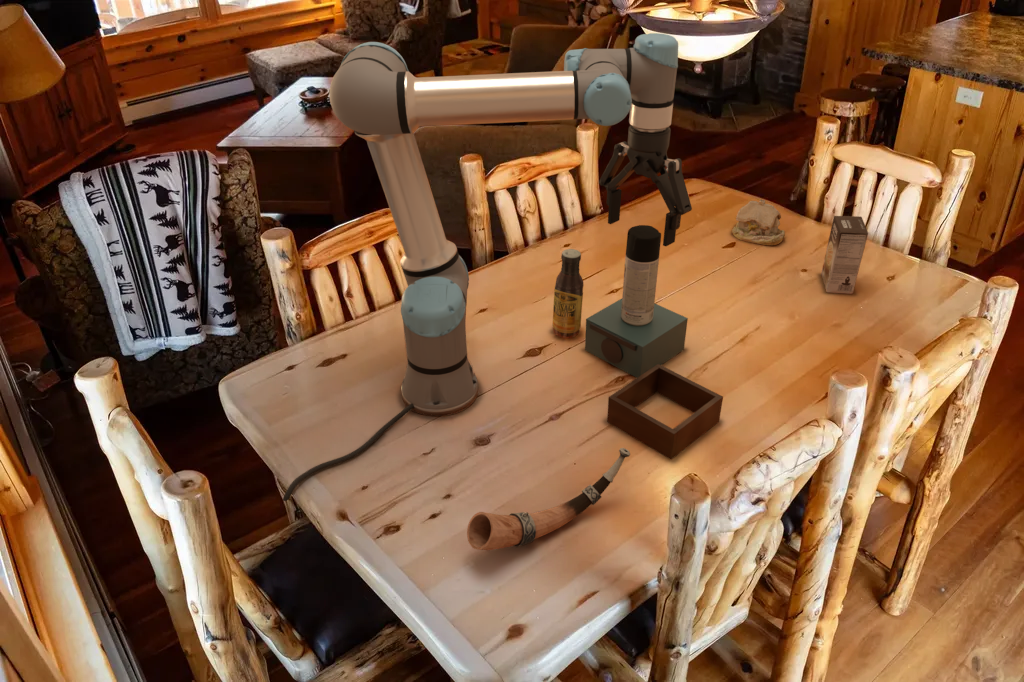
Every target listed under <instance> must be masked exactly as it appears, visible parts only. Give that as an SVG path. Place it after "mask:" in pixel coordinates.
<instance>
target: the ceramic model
mask: <svg viewBox="0 0 1024 682" xmlns="http://www.w3.org/2000/svg"><path fill="white" fill-rule="evenodd" d="M735 217H736V218H735V220H736V221H737V222H736V224H735V226H734V227H733V228H732V230H731V232H732V236H734V238H736V239H738V240H740V241H743V242H748V243H752V244H757V245H764V246H777V245H779V244H780V243H782V242H783V240H784V238H785V235H786V231H785V230H784V229H780V228H779V226H780V225H781V222H780V220H781V219H782V214H781V212H780V211H779V210H778V209H777V208H776V207H775V206H774V205H772V204H769V203H766V200H765V199H764V200H763V199H760V200H759V201H757V200H749V201H748V203H746V204H745V205H743V206H741V208H739V209H738V211H737V214H736V215H735Z"/></svg>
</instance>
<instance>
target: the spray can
mask: <svg viewBox="0 0 1024 682" xmlns="http://www.w3.org/2000/svg"><path fill="white" fill-rule="evenodd" d="M626 234H627V235H626V236H627V237H626V246H625V247H626V248H625V258H624V269H623V283H622V297H621V299H622V308H621V318H622V320H623V321H624V322H625V323H627V324H629V325H633V326H643V325H646V324H649V323H650V322H651V321H652V318H653V312H654V303H655V302H656V301H655V300H656V292H657V282H658V274H659V273H658V272H659V265H660V254H661V253H660V252H661V243H662V233H661V232H660V231H659V230H658V229H657V228H656V227H654V226H653V225H649V224H648V225H647V224H646V225H645V224H639V225H634V226H631V227H630V228H628V230H627V233H626ZM655 304H656V303H655Z"/></svg>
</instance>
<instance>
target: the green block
mask: <svg viewBox="0 0 1024 682" xmlns="http://www.w3.org/2000/svg"><path fill="white" fill-rule="evenodd" d="M621 308H622V298H620V299H618V300H617V301H615V302H612V303H611V304H609V305H608V306H605V307H604V308H602V309H600V310H599V311H597V312H595V313H593V314H591V315H590V316H589V317H586V318H585V339H584V351H586V352H587V353H589V354H591V355H593V356H594V357H597V358H599V359H601V360H602V361H604V362H605V363H608V364H610V365H612V366H614V367H615V368H617V369H620V370H621V371H622V372H625V373H627V374H629V375H631V376H632V377H634V378H635V379H636V378H638V377H639V376H641V375H642V374H644V373H645V372H647V371H648V370H650V369H651V368H653V367H654V366H656V365H657V364H660V365H662V366H663V364H665V363H667V362H668V361H669V360H671V359H672V358H674V357H676V356H677V355H678V354H680V353H682V352H684V350H685V344H686V338H687V337H686V335H687V328H688V321H689V318H688V317H686V316H684V315H681V314H679V313H677V312H675V311H673V310H670V309H668V308H666V307H664V306H662V305H660V304H657V303H654V312H653V318H652V321H651V322H650V323H649V324H646V325H643V326H633V325H629V324H627V323H625V322H624V321H623V320H622V318H621Z"/></svg>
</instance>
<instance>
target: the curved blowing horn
mask: <svg viewBox="0 0 1024 682" xmlns="http://www.w3.org/2000/svg"><path fill="white" fill-rule="evenodd" d="M618 452H619V456H618V458H617V459H616V460H615V462H614V463H613V464H612V465H611V466H610V468H609V469H608V470H607V471H606V472H604V473H602V476H601V477H600V478H599V479H598V480H597V481H596V482H595V483H593V484H588V486H586V487H585V488H584V489H583V490H581V493H580V494H578V495H577V496H575V497H573V498H572V499H570V500H568V501H566V502H563V503H561V504H558V505H556V506H554V507H551V508H548V509H545V510H541V511H536V512H531V513H529V512H526V511H525V512H524V511H521V512H511V513H510V514H496V513H490V512H485V511H479V512H476V513H475V514H474V515H473V516H472V517H471V518H470V520H469V522H468V525H467V528H466V529H467V530H466V536H467V541H468V543H469V546H470V547H471V548H472V549H474V550H477V551H493V550H499V549H504V548H509V547H516V548H517V547H518V548H519V547H522V546H525V545H528V544H531V543H532V542H534V541H535V540H536V539H538V538H540V537H543V536H545V535H547V534H550V533H552V532H554V531H555V530H558V529H559V528H561V527H563V526H565V525H567V524H568V523H569V522H571V521H573V520H574V519H576V518H577V517H578V516H580V515H581V514H582V513H583V512H585V511H586V510H587V509H589V507H590V506H594V505H596V504H597V502H598V501H599V500H600V499H601V498H602V494H603V493H604V492H605V490H607V488H608V487H609V486H610V484H612V483H613V482H614V479H615V477H616V476H617V475H618V473H619V471H620V469H621V467H622V466H623V463H624V460H625V459H626V458H628V457H630V456H631V452H630V450H629V449H627V448H625V447H619V450H618Z"/></svg>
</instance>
